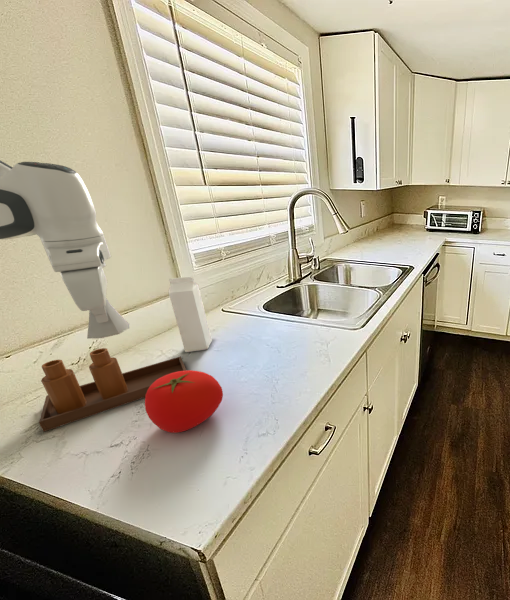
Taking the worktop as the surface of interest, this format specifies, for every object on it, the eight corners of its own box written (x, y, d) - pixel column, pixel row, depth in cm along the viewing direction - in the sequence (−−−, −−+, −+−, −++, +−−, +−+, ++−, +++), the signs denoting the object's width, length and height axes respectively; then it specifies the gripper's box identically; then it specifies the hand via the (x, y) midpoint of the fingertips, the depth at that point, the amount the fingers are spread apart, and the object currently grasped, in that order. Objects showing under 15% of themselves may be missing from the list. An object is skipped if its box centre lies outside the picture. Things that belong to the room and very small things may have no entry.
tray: (43, 431, 67) (38, 422, 66) (50, 404, 75) (46, 395, 74) (190, 382, 82) (187, 373, 81) (183, 363, 90) (180, 356, 89)
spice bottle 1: (56, 419, 70) (33, 372, 66) (59, 408, 74) (37, 362, 69) (86, 410, 73) (66, 364, 68) (87, 399, 76) (68, 354, 72)
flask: (97, 327, 72) (80, 284, 68) (136, 322, 74) (121, 280, 71) (79, 342, 66) (60, 296, 62) (123, 336, 68) (106, 291, 64)
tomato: (181, 400, 75) (168, 358, 71) (237, 404, 74) (226, 361, 70) (135, 441, 64) (116, 393, 60) (200, 447, 63) (185, 398, 58)
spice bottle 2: (102, 404, 74) (83, 359, 70) (102, 394, 78) (84, 350, 74) (129, 396, 77) (112, 352, 73) (128, 386, 81) (112, 344, 76)
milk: (207, 349, 98) (189, 279, 90) (184, 352, 96) (164, 281, 88) (212, 340, 103) (196, 273, 95) (190, 343, 102) (172, 275, 93)
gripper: (63, 246, 69) (87, 306, 74) (48, 265, 54) (79, 338, 59) (102, 242, 73) (122, 299, 78) (98, 258, 58) (123, 328, 63)
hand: (103, 316), depth 69 cm, fingers closed on flask, 5 cm apart
